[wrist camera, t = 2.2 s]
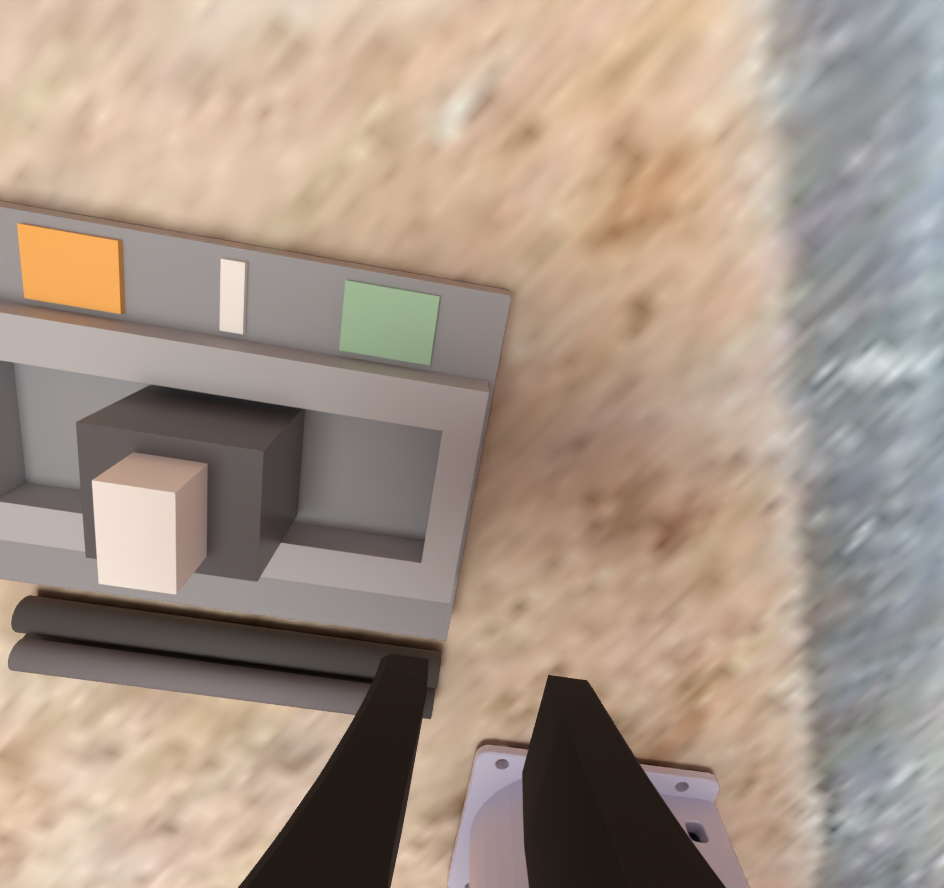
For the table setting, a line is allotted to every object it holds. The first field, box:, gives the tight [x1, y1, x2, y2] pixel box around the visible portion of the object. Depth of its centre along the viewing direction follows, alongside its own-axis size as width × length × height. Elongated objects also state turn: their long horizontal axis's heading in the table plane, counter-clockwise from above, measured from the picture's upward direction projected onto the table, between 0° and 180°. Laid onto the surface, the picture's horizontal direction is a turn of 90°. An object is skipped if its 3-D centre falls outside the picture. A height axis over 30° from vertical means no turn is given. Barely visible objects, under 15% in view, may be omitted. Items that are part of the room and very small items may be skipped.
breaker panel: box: [0, 201, 511, 641], centre depth 17 cm, size 14×11×3 cm
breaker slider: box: [76, 384, 305, 595], centre depth 14 cm, size 4×3×5 cm
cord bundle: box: [8, 595, 441, 719], centre depth 20 cm, size 14×3×2 cm, turn 80°
